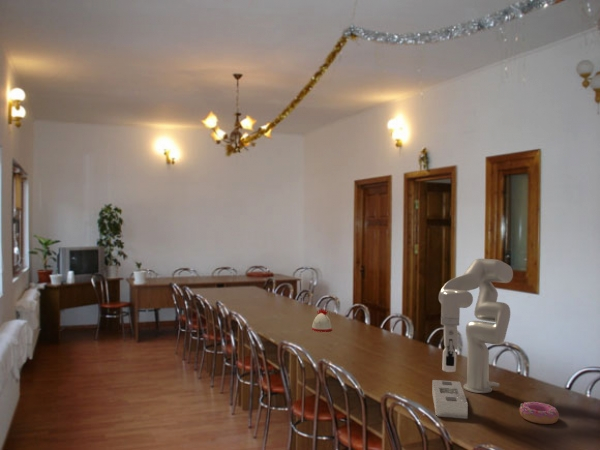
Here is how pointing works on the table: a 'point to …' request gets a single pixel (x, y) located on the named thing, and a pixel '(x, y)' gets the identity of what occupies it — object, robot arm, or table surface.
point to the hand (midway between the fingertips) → (449, 363)
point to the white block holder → (449, 399)
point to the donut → (539, 412)
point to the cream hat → (321, 322)
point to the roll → (444, 367)
